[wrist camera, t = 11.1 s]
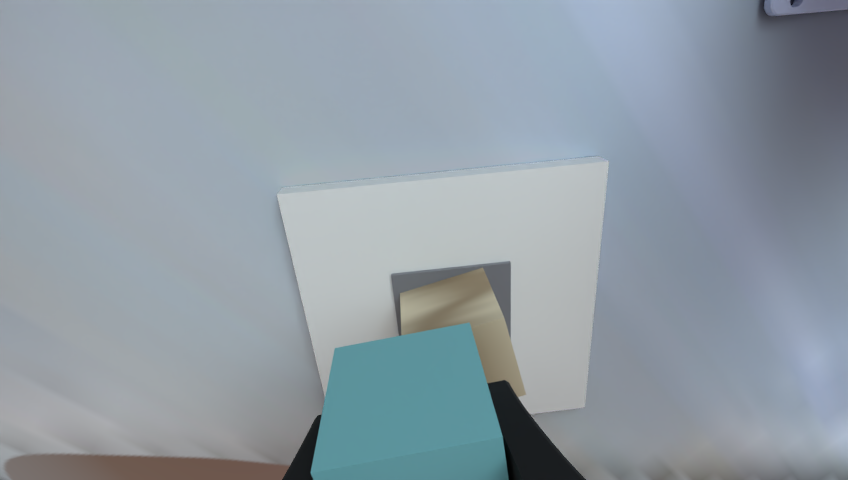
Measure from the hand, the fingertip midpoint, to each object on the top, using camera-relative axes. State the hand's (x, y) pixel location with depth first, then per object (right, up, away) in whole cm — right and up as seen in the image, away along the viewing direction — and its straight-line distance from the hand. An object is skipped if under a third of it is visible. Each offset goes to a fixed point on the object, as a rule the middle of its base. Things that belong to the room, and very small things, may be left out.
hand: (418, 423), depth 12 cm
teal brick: (0, +1, +1) cm, 1 cm away
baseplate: (+2, +2, +10) cm, 10 cm away
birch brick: (+2, +2, +8) cm, 9 cm away
